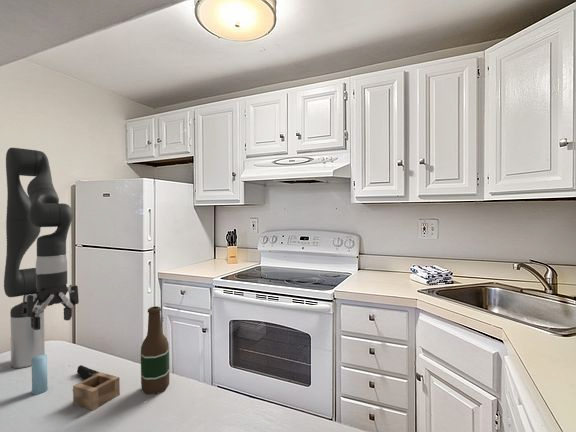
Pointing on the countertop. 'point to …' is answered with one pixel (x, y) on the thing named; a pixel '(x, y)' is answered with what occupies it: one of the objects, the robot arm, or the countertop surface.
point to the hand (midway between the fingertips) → (52, 324)
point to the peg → (39, 374)
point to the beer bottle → (154, 356)
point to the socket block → (96, 391)
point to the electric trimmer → (86, 372)
